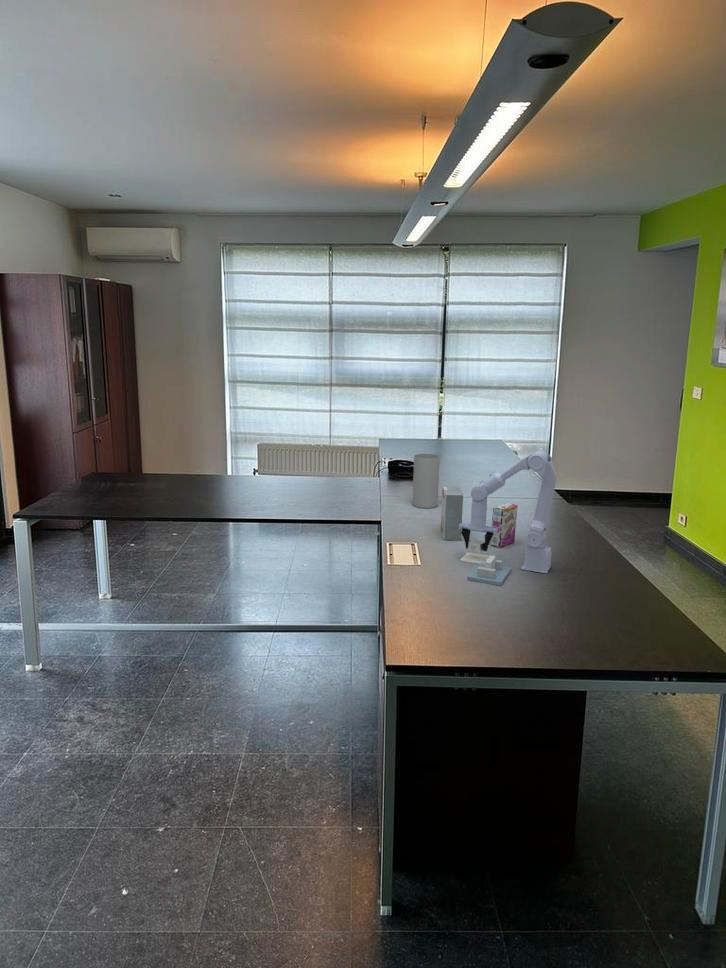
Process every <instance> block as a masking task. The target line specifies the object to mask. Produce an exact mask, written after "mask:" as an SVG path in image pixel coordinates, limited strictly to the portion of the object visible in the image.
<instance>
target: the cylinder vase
mask: <svg viewBox="0 0 726 968" xmlns="http://www.w3.org/2000/svg"><path fill="white" fill-rule="evenodd" d="M440 458H441V457H440V455H437V454H432V453H418V454H417V453H416V454H414V455H413V477H412V478H413V479H412V506H414V507H416V508H420V509H432V508H433V509H434V508H436V507H438V503H439V486H440V485H439V482H440V481H439V480H440V479H439V478H440V462H441V461H440Z"/></svg>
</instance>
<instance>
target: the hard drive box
mask: <svg viewBox="0 0 726 968" xmlns="http://www.w3.org/2000/svg"><path fill="white" fill-rule="evenodd" d="M441 487H442V488H441V489H442V490H441V491H442V492H441V515H440V530H441V535H442V539H443V541H462V534H461V531H462V529H461V530H460V529H459V524H460V523H462V524H463V507H464V506H463V505H464V503H463V502H464V493H463V492H462V489H461V487H460V486H459V485H442V486H441Z"/></svg>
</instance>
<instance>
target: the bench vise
mask: <svg viewBox="0 0 726 968" xmlns="http://www.w3.org/2000/svg"><path fill="white" fill-rule="evenodd" d="M489 556H490V557H489V558H486V559H485V564H483V563H479V564H476V566H475V568H473V570H472V571H470V573H469V574H468V576H467V578H466V580H467V581H471V582H475V583H481V584H482V583H483V584H487V585H493V584H494V585H495V586H499V585H500V587H501V586H502V585H503V583H504V582H505V581H506V579H507V578H506V577H508V576H509V574H510V573H511V571H512V567H507V566H503V560H500V559H497V555H496V556H495V555H489ZM504 580H505V581H504Z"/></svg>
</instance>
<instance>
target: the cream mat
mask: <svg viewBox="0 0 726 968" xmlns="http://www.w3.org/2000/svg"><path fill="white" fill-rule="evenodd" d="M490 556H491V555H487V554H482V553H480V554H479V553H474V552H469V551H467V552H466V553H465V554H464V555H463V556H462V557H461V558H460V560H459V561H460V562H465V563H469V564H470V563H471V564H476V565H478V564H479V563H483V564H485V559H486V558H489V557H490Z"/></svg>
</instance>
